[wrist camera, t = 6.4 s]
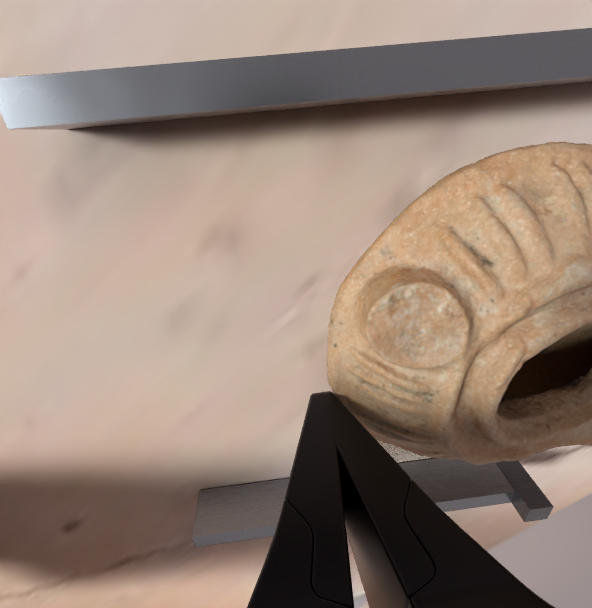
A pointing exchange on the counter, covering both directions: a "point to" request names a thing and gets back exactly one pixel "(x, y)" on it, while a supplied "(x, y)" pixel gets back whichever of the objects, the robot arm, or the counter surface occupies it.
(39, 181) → the counter surface
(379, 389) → the pottery oil lamp
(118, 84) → the steel chute
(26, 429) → the counter surface
